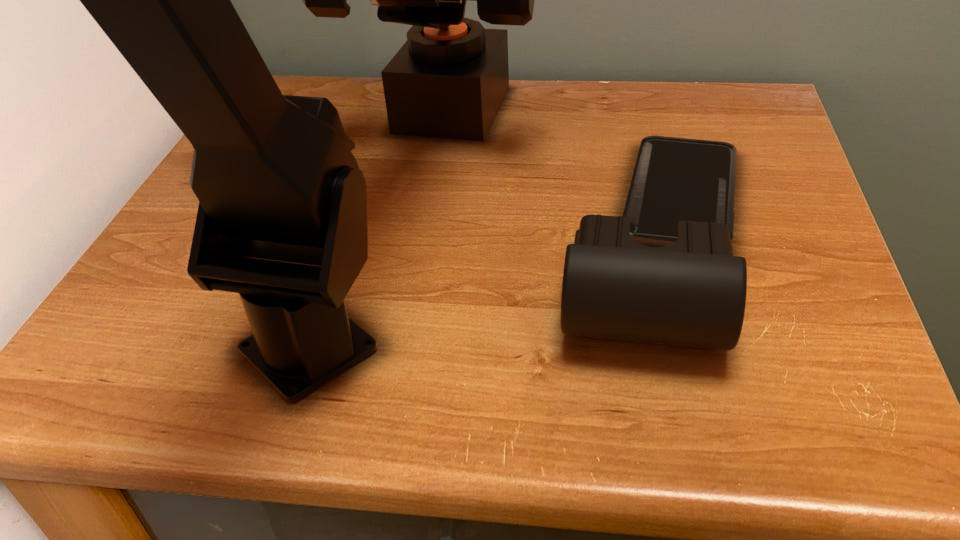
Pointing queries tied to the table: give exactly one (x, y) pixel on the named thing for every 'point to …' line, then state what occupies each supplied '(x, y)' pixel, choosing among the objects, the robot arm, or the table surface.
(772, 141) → the table surface
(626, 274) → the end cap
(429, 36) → the orange push button
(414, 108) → the push button base
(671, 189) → the phone
